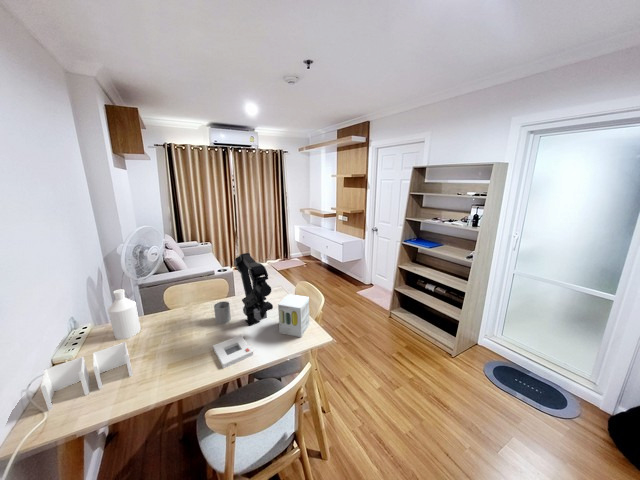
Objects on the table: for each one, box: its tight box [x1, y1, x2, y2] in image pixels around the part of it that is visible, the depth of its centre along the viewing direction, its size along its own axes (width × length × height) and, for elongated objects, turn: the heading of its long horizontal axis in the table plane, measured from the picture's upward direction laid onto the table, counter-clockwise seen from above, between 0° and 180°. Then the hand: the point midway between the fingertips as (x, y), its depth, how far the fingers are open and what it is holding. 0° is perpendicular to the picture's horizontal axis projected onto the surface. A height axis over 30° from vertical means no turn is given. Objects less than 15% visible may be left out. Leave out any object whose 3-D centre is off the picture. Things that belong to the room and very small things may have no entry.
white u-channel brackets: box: [40, 341, 134, 411], centre depth 102 cm, size 25×11×11 cm, turn 131°
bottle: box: [107, 288, 142, 340], centre depth 133 cm, size 12×12×25 cm
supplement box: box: [277, 293, 311, 338], centre depth 138 cm, size 13×13×18 cm
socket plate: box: [212, 334, 254, 369], centre depth 121 cm, size 16×14×2 cm
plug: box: [254, 309, 268, 321], centre depth 132 cm, size 4×5×6 cm
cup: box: [213, 301, 232, 325], centre depth 147 cm, size 8×8×10 cm
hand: (260, 315), depth 133 cm, fingers closed on plug, 4 cm apart
